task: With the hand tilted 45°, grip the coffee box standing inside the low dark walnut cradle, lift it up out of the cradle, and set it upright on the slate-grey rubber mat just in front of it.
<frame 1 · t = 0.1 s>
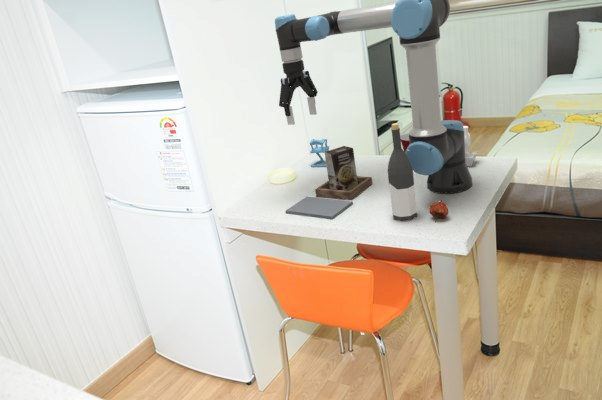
hand: (302, 119, 189), 28 cm above the table, tool pointing down, fingers open, 13 cm apart
slate mat: (319, 208, 180), on the table
coffee box: (344, 191, 192), resting in walnut cradle
walnut cradle: (344, 190, 192), on the table
wine bottle: (405, 216, 162), on the table
chair: (322, 164, 228), on the table
pomegranate: (439, 219, 156), on the table
figurine: (466, 164, 196), on the table
plastic cup: (415, 164, 206), on the table
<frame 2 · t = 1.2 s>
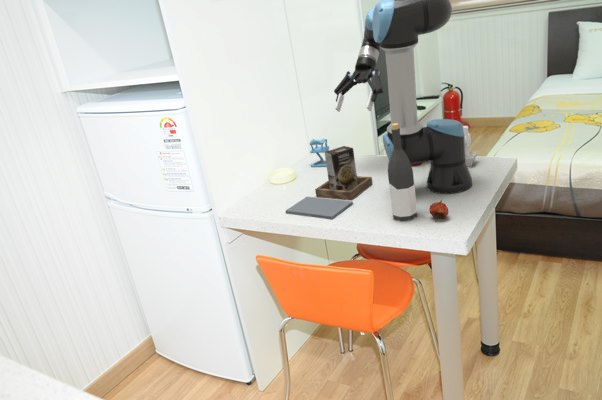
hand: (352, 109, 192), 27 cm above the table, tool tilted 45°, fingers open, 13 cm apart
nothing on the table moved.
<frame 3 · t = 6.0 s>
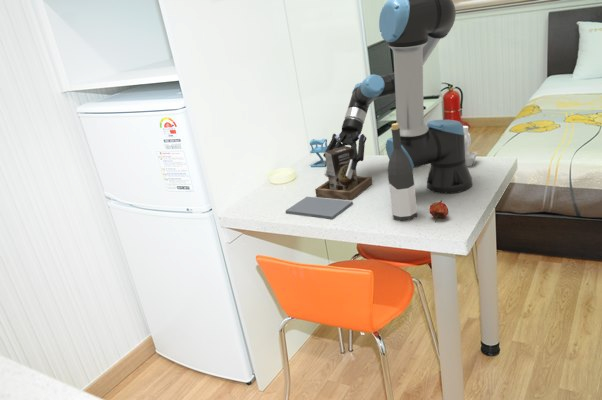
hand: (337, 176, 187), 7 cm above the table, tool tilted 45°, fingers closed on coffee box, 9 cm apart
coffee box: (344, 191, 192), resting in walnut cradle, touching gripper
everything else where it was.
when the fingers open (9 cm above the table, at t = 13.9 s): coffee box drops 1 cm, resting on slate mat.
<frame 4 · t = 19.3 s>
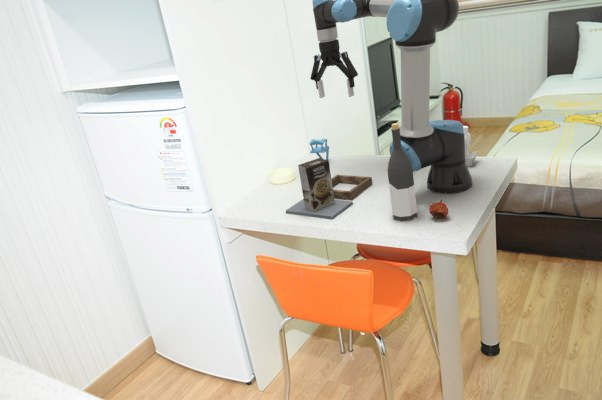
hand: (336, 96, 198), 32 cm above the table, tool pointing down, fingers open, 13 cm apart
coffee box: (320, 206, 179), point 1 cm above the table, touching slate mat
everything else where it was.
at the end: coffee box inside the target area on the slate mat (0.5 cm from its centre), point 0.8 cm above the slate mat's base; coffee box tilted 0°; the gripper is holding nothing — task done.
